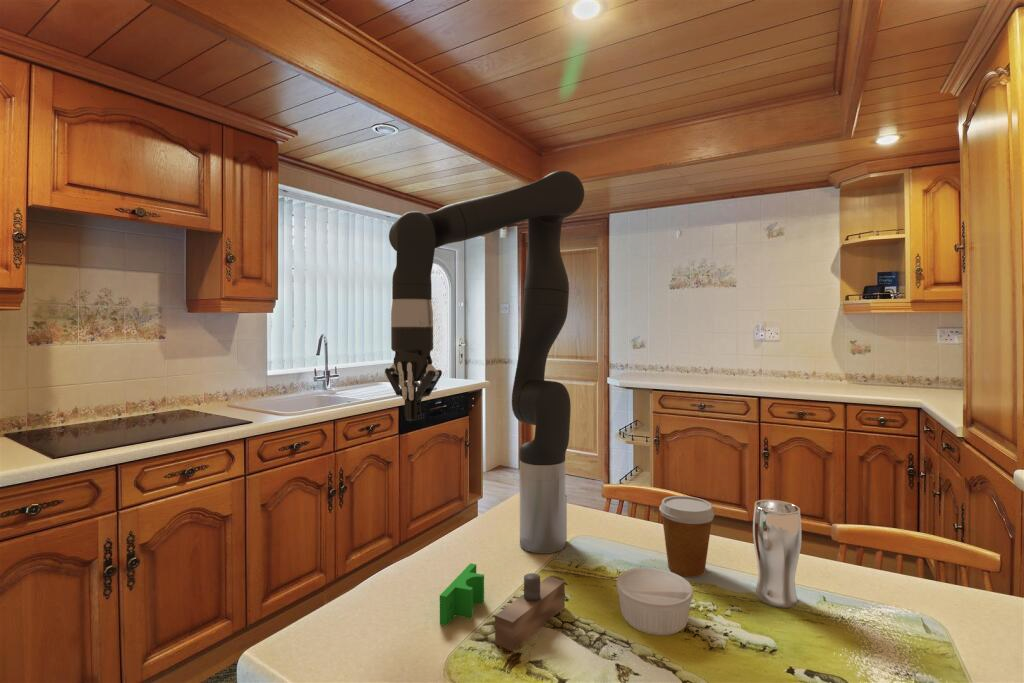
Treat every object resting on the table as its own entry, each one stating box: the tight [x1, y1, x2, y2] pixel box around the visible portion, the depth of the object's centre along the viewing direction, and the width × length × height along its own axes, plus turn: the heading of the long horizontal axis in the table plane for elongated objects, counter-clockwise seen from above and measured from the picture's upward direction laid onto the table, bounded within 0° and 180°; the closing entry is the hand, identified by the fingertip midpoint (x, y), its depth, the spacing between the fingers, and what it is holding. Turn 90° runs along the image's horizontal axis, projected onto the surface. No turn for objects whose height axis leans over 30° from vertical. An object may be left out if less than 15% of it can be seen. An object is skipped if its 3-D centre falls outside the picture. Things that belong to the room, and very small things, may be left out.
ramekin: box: [615, 567, 694, 636], centre depth 78 cm, size 11×11×5 cm
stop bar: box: [494, 573, 566, 652], centre depth 76 cm, size 14×3×7 cm, turn 144°
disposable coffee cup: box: [658, 495, 716, 578], centre depth 94 cm, size 10×10×12 cm
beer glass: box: [752, 499, 803, 609], centre depth 84 cm, size 7×7×15 cm
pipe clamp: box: [439, 562, 485, 627], centre depth 81 cm, size 11×4×5 cm, turn 161°
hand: (412, 420), depth 95 cm, fingers closed
